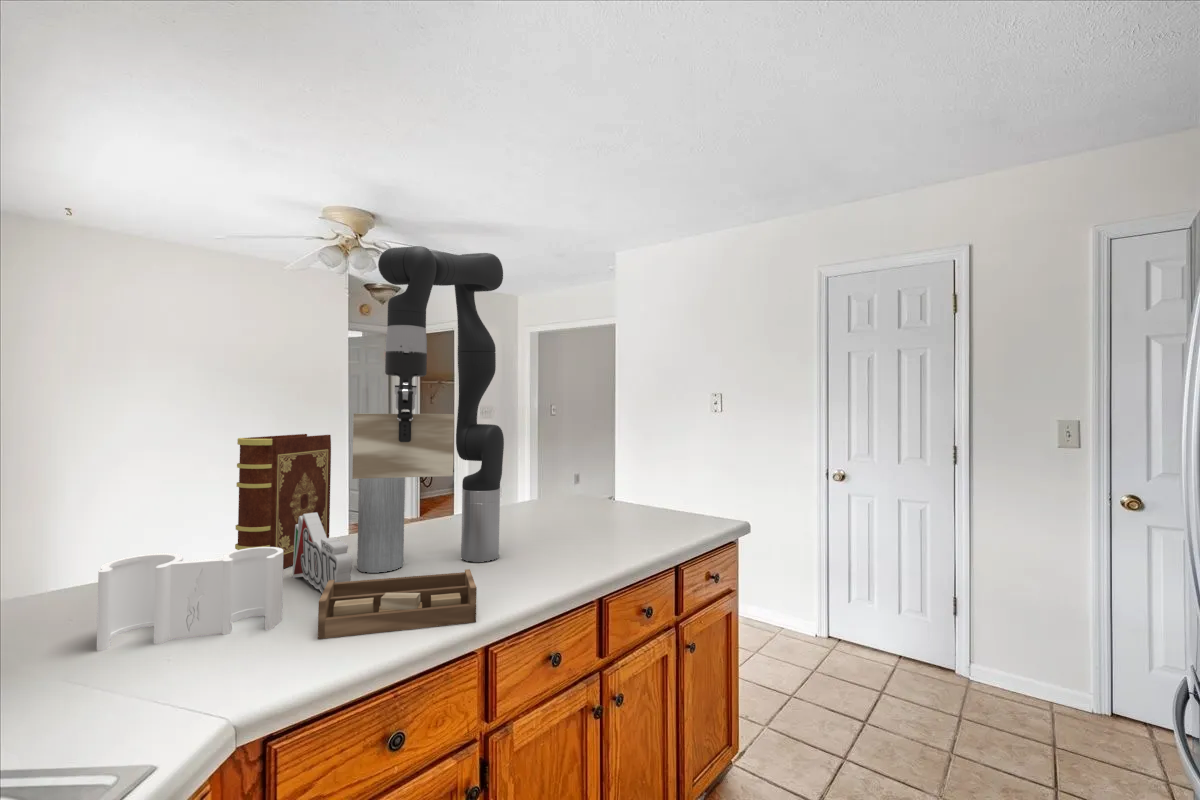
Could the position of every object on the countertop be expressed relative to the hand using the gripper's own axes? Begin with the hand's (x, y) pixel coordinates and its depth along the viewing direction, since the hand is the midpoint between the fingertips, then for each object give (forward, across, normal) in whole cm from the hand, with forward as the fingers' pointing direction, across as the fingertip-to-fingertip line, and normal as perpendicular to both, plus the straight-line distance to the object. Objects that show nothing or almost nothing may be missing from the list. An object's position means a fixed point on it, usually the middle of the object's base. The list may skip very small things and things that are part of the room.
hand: (404, 440), depth 107 cm
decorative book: (+31, -36, -27) cm, 55 cm away
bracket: (+31, +4, -32) cm, 45 cm away
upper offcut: (+28, +10, 0) cm, 30 cm away
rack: (+31, +8, 0) cm, 32 cm away
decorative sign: (+31, -14, -16) cm, 38 cm away
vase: (+31, -26, -5) cm, 41 cm away
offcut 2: (+31, +10, +7) cm, 34 cm away
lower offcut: (+31, +10, 0) cm, 33 cm away
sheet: (+7, 0, 0) cm, 7 cm away
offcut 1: (+31, +10, -8) cm, 34 cm away
